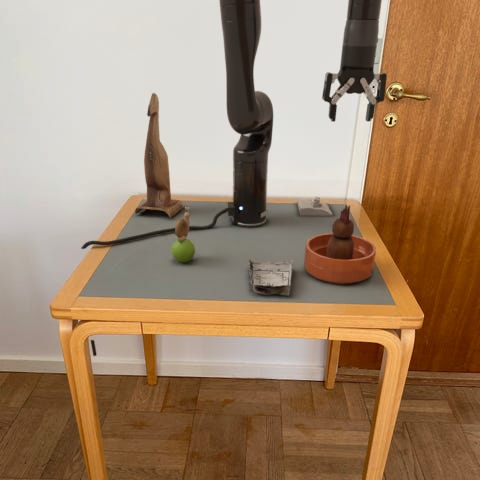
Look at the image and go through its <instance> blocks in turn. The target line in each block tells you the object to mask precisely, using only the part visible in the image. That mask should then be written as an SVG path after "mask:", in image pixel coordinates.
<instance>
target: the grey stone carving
mask: <svg viewBox="0 0 480 480" xmlns="http://www.w3.org/2000/svg"><path fill="white" fill-rule="evenodd" d="M297 208H298V212H299V216H319V217H320V216H322V217H323V216H327V217H328V216H329V217H331V216H333V213H332V211H331V209H330V207H329V205H328V204H327V203H326V202H325V203H324V202H322V201H321V197H320V196H319V197H318V196H315V197H313V198H312V199H311V200H310V199H303V198H298V199H297Z"/></svg>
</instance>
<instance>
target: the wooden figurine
mask: <svg viewBox="0 0 480 480" xmlns="http://www.w3.org/2000/svg"><path fill="white" fill-rule="evenodd" d="M350 212H351V205H350V204H349V205H345V207H344V208H342V210H341V211H340V214H339V217H338V218H336V219H335V220H334V221H333V223H332V226H331V231H332V232H331V233H333V234H334V235H333V236H332V237H331V238H330V240H329V242H328V247H327V257H328V258H333V259H342V260H352V257H353V252H354V241H353V239H352V237H351V236H352V235H354V230H355V224H354V222H353V220H352V219H350V214H351V213H350Z"/></svg>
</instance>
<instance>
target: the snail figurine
mask: <svg viewBox="0 0 480 480" xmlns="http://www.w3.org/2000/svg"><path fill="white" fill-rule="evenodd" d="M184 210H188V211H185V212H184V213H183V217H184V218H179V219H177V221H176V223H175V226H174V228H175V231H174V232H175V236H176V237H177V238H176V240H175V241H174V243H173V244H172V245H171V254H172V257H173V258H174V259H175V260H176V261H178V262H180V263H187V262H189V261H191V260H192V259H193V258H194V257H195V254H196V246H195V245H194V243H193V242H192V241H191V240H190V239H188V238H187V237H188V235H189V232H190V230H189V226H190V216H191V214H190V212H189V211H190V210H191V208H190V206H185V207H184Z"/></svg>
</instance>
